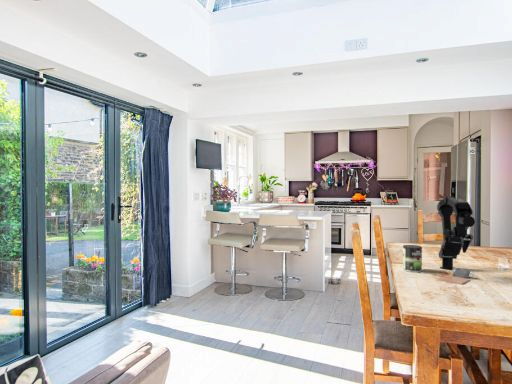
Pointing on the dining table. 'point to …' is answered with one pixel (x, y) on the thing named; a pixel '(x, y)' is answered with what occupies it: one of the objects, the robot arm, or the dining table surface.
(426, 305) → the dining table surface
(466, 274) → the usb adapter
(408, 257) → the coffee can
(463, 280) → the plate
